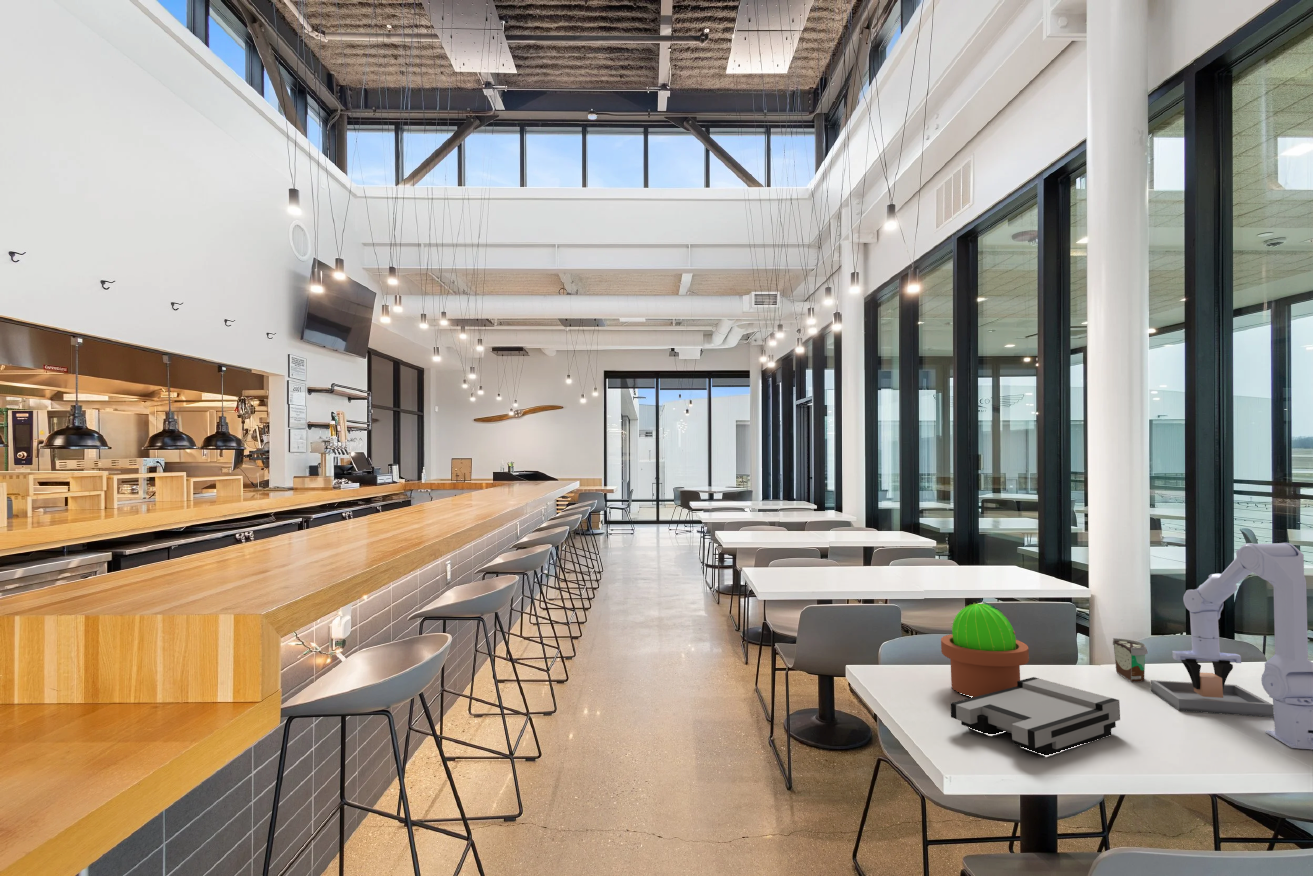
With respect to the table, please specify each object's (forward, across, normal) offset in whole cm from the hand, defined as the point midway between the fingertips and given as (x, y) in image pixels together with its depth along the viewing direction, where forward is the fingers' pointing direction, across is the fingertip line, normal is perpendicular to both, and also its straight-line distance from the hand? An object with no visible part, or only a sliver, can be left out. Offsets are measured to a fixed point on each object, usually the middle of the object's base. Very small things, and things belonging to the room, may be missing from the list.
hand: (1208, 689), depth 177 cm
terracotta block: (+1, 0, 0) cm, 1 cm away
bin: (+4, 0, 0) cm, 4 cm away
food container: (+4, +9, -21) cm, 23 cm away
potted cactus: (+4, +54, +2) cm, 54 cm away
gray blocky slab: (+4, +49, +32) cm, 58 cm away
